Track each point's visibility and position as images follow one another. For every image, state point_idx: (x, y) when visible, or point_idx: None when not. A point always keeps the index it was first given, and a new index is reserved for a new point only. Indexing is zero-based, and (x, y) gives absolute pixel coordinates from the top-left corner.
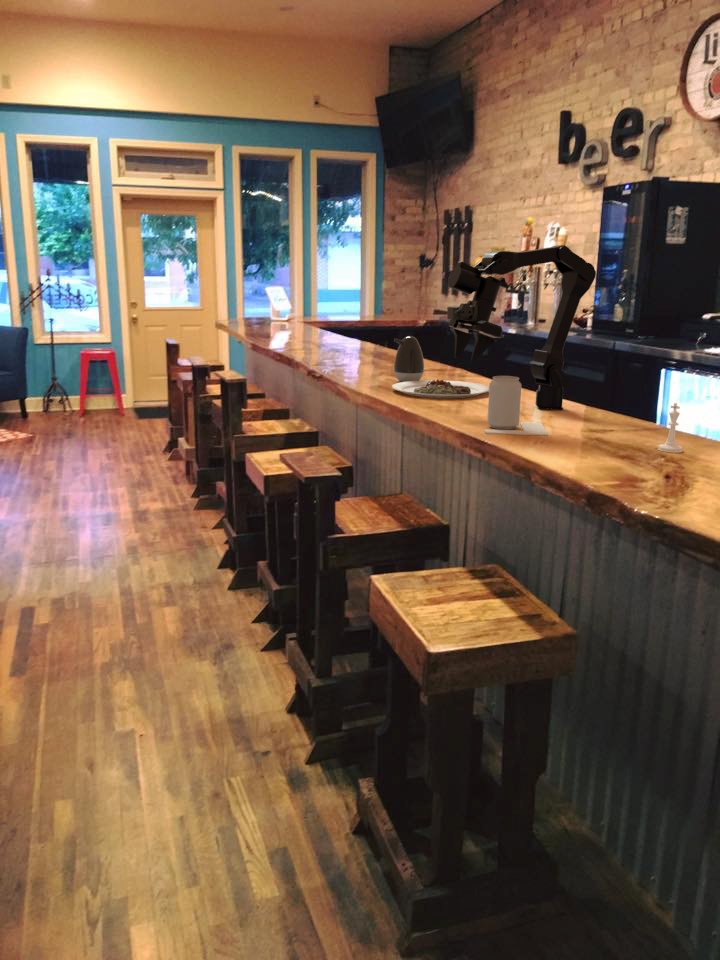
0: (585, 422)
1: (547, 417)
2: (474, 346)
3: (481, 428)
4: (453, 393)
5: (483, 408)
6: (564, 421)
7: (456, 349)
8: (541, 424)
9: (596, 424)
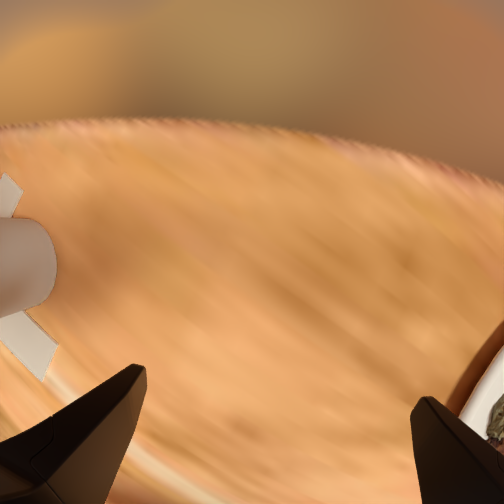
0: None
1: None
2: (66, 433)
3: (42, 199)
4: (492, 424)
5: (307, 415)
6: None
7: (447, 431)
8: (26, 365)
9: None
